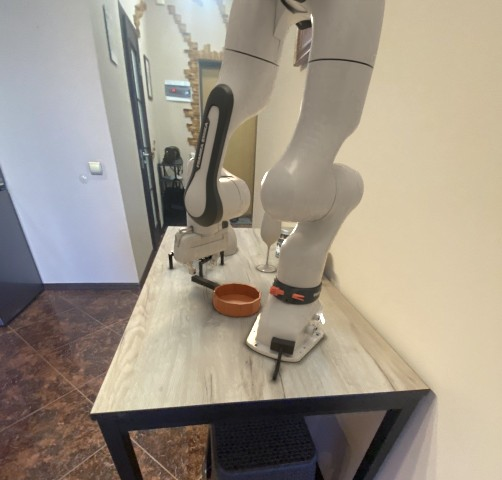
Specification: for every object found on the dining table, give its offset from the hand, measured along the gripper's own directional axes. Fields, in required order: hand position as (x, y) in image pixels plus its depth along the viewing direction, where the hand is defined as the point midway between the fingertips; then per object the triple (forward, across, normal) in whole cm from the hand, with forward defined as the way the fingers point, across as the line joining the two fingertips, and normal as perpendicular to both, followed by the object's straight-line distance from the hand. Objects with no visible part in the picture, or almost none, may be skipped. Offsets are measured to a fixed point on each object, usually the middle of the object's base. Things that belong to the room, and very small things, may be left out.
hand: (203, 269), depth 88 cm
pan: (+7, 0, -8) cm, 11 cm away
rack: (+8, +14, +16) cm, 23 cm away
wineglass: (+8, +32, -4) cm, 33 cm away
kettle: (+8, +34, +27) cm, 44 cm away
